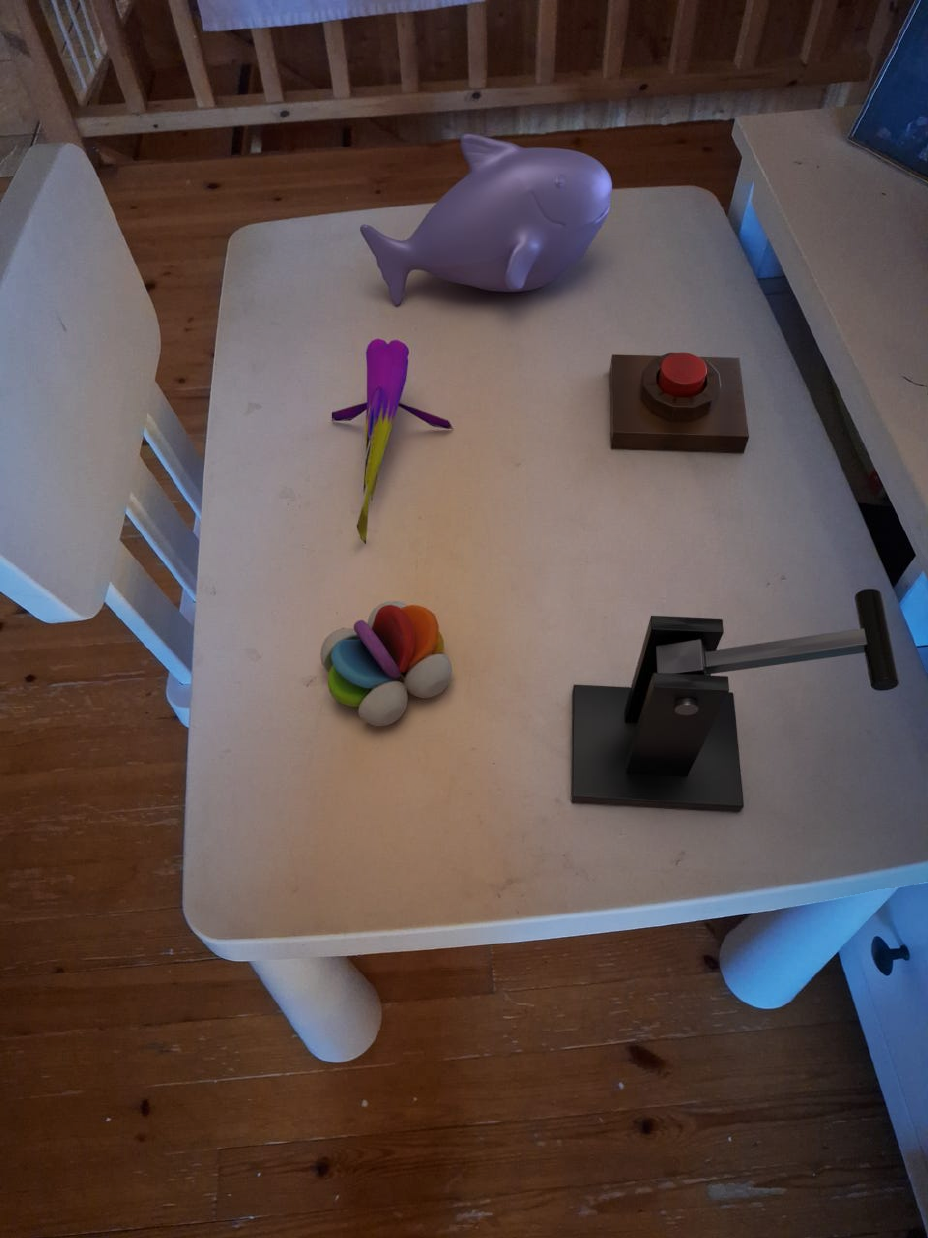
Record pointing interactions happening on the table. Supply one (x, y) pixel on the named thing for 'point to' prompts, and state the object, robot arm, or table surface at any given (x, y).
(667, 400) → the button block
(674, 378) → the button
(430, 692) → the fanned rainbow disc cluster
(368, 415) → the toy
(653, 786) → the bracket
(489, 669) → the table surface
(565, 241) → the toy whale
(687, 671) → the t-handle lever
